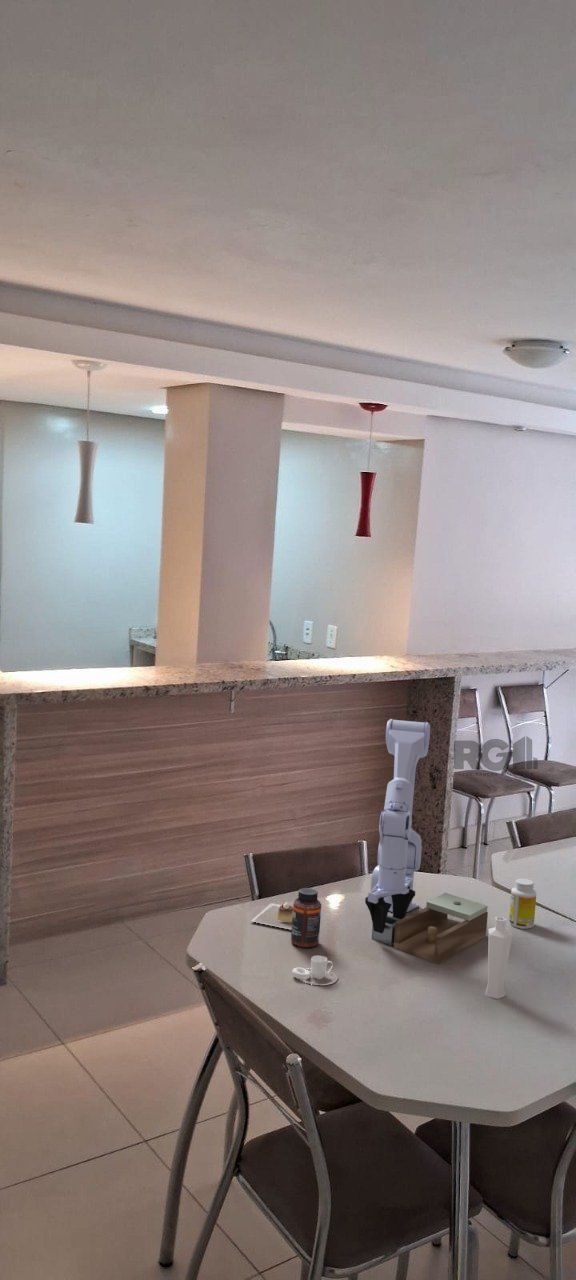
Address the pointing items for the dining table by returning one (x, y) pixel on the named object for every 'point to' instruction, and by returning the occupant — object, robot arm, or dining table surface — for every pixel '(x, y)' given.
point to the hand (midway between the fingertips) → (388, 926)
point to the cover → (457, 906)
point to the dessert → (279, 914)
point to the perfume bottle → (498, 958)
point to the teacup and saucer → (313, 969)
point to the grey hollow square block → (386, 931)
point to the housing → (437, 934)
